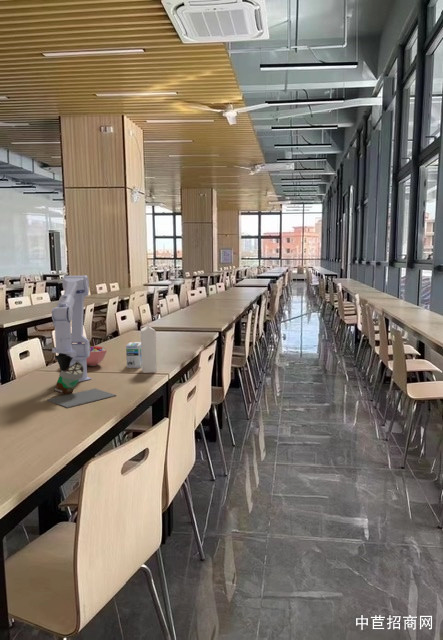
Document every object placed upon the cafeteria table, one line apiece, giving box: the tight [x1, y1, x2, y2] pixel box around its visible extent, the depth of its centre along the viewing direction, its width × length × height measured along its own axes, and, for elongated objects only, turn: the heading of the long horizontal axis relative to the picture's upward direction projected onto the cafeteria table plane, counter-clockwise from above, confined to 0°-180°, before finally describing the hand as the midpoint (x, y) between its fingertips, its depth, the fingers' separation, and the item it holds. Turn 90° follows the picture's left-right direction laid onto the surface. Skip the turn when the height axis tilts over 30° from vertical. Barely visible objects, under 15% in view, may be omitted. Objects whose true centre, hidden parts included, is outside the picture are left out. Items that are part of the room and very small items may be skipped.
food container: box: [53, 361, 84, 395], centre depth 186 cm, size 12×6×10 cm, turn 168°
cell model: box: [76, 343, 108, 367], centre depth 233 cm, size 17×20×11 cm
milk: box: [140, 322, 158, 374], centre depth 221 cm, size 6×6×22 cm
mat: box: [46, 388, 117, 409], centre depth 180 cm, size 14×20×1 cm
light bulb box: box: [125, 341, 142, 369], centre depth 234 cm, size 11×7×11 cm, turn 179°
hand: (64, 373), depth 187 cm, fingers closed
